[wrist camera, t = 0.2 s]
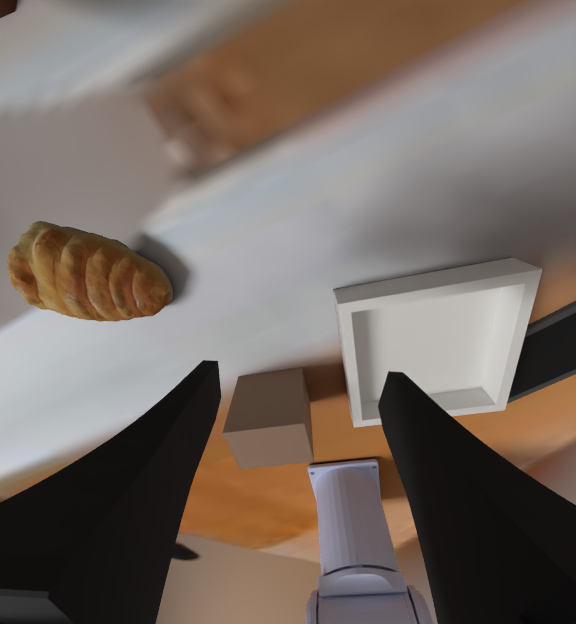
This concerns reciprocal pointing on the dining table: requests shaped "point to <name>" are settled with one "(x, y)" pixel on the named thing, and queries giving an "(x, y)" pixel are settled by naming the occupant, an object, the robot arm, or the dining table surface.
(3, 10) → the ice cream bowl
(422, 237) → the dining table surface
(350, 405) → the bin
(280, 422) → the beige block
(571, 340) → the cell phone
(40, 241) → the pastry
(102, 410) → the dining table surface
